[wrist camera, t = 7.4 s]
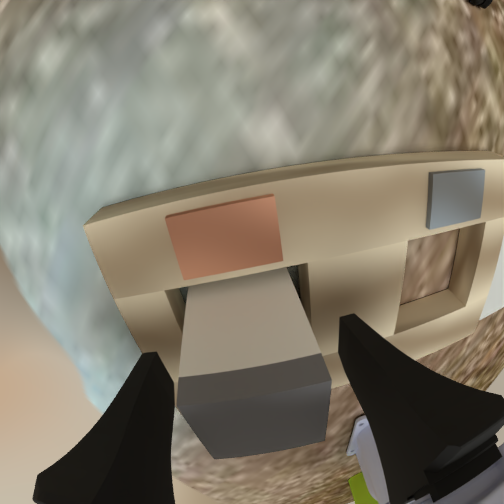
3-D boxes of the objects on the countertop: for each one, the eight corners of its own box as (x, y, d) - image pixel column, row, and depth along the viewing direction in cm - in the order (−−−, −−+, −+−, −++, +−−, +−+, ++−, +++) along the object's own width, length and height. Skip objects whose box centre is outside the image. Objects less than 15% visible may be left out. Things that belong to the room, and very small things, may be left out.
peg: (287, 320, 15) (324, 440, 8) (210, 334, 15) (214, 459, 8) (280, 252, 13) (331, 380, 7) (190, 269, 13) (176, 406, 6)
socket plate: (459, 316, 17) (476, 335, 15) (182, 389, 16) (181, 419, 14) (488, 150, 11) (517, 160, 9) (101, 207, 11) (79, 228, 9)
